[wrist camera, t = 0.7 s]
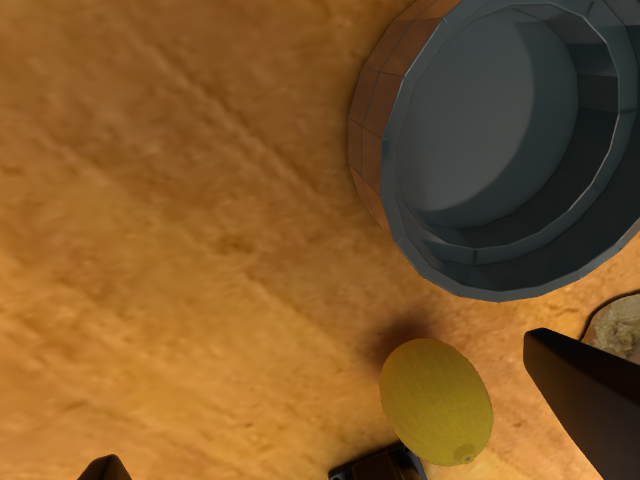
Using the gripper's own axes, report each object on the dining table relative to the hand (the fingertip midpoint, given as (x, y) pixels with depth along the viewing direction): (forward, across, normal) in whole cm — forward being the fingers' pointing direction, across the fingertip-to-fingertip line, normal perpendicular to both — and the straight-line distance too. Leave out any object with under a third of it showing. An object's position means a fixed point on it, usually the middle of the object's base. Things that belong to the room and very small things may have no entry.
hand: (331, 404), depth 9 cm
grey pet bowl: (+14, -11, -1) cm, 17 cm away
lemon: (+14, -6, +12) cm, 19 cm away
